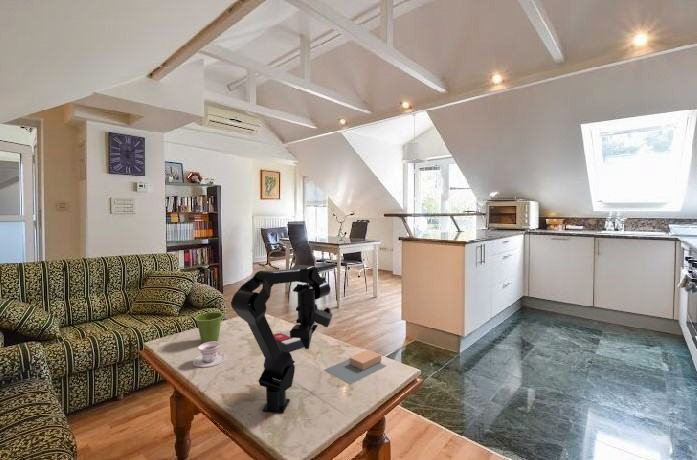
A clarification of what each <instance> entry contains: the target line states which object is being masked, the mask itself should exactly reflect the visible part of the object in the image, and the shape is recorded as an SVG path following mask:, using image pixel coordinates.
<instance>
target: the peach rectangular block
mask: <svg viewBox="0 0 697 460" xmlns="http://www.w3.org/2000/svg"><path fill="white" fill-rule="evenodd" d="M348 359H349V364H350V365H352V366H354V367H356V368H358V369H361V370H365V369H367V368H369V367H371V366H374V365H376V364H378V363H381V362H382V354H380V353H377V352H375V351H373V350H371V349H366V350H363V351H360V352H359V353H356V354H354V355H351V356H349V358H348Z"/></svg>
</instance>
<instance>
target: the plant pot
mask: <svg viewBox="0 0 697 460" xmlns="http://www.w3.org/2000/svg"><path fill="white" fill-rule="evenodd" d="M223 317H224V314H223V312H219V311H212V312H211V311H209V312H203V313H199V314H197V315H196V316H194V320H195V322H196V325H197V328H198V334H199V338H200V342H201V343H202V344H204V343H207V342H212V341H217V342H218V340H219V339H220V330H221V322H222V318H223Z"/></svg>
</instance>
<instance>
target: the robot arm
mask: <svg viewBox="0 0 697 460" xmlns="http://www.w3.org/2000/svg"><path fill="white" fill-rule="evenodd" d="M326 279H327V278H326V277H323V276H321V275H320V274H319V272H318V270H317V267H316V266H314V265H306V264H298V265H293V266H292V267H291V268H289V269H274V270H262V269H261V270H259V271H257V272H256V273H254V275H253V276H252V278H250V279H249V280H247V281H246V282H244V283H242V285H241V286H240V287H239V288H238V290H237V291H235V293H234V294H233V296H232V299H231V301H230V306H231V308H232V310H233V311H234V312H235V313H236V314H237V316H238V317H240V318H241V319H242V320H243V321H245V322H246V323H247V324H248V327H249V328H250V330H251V333H252V335H253V336H254V339H255V341H256V343H257V344H258V347H259V349H260V351H261V353H262V355H263V357H264V362H263V368H264V369H263V370H262V373H261V375H260V376H259V379H258V384H259V386H261V387H264V388H265V391H266V392H265V393H266V395H265V396H266V403H265V404H264V406H263V407H262V412H264V413H265V412H266V413H267V412H268V413H278V414H279V413H280V414H283V413H285V410H286V409H287V407H288V406H289V404H290V402H291V399H290V398H287V390H289V389H290V388H291V387H292V386H293V382H294V376H295V370H296V369H295V368H296V367H295V360H294V359H293V356H292V354H291V352H286V351H282V350H280V348H279V346H278V343H277V341H276V339H275V337H274V335H273V334H274V332H273V331H272V329H271V326H270V324H269V322H268V320H267V317H266V312H267V304H266V303H267V302H268V300H269V299H270V297H271V291H272V287H273V286H274V285H278V284H279V285H281V284H289V283H295V282H297V284H296V286H294V287H293V288H292V292H293V293H296V294H297V306H296V307H295V311H296V312H297V318H296V321H295V322H296V324H295V325H294V326H293V327H292V328H291V329H290V337H291V338H300V340H301V341H302V343H303V345H304V349H305V350H309V349H310V346H311V341H312V337H313V334H314V332H315V331H316V329H317V328H318V325H320V326H323V327H324V328H328V327H329V326H330V324H331V321H332V318H333V316H334V315H333V313H332V311H331V308H330V307H327V306H326V307H325V308H324V309H319V308H318V304H316V300H318V299H319V300H320V299H321V298H324V297H326V296H328V295H329V294H330V292H331V286H330V284H329V282H328V281H327V280H326ZM261 285H262V288H261V290H259V292H255V290H257V289H258V288H260V287H261Z"/></svg>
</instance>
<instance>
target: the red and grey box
mask: <svg viewBox="0 0 697 460" xmlns="http://www.w3.org/2000/svg"><path fill="white" fill-rule="evenodd" d="M290 330H291V329H290ZM290 330H289V329H288V330H284V331H281V332H277V333H273V335H274V337H275V339H276V341H277V343H278V346H279V348H280V350H282V351H286V352H289V353H291V352H295V351H298V350H300V349H305V347H304V345H303V343H302V341H301V340H300V338H291V337H290Z"/></svg>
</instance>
